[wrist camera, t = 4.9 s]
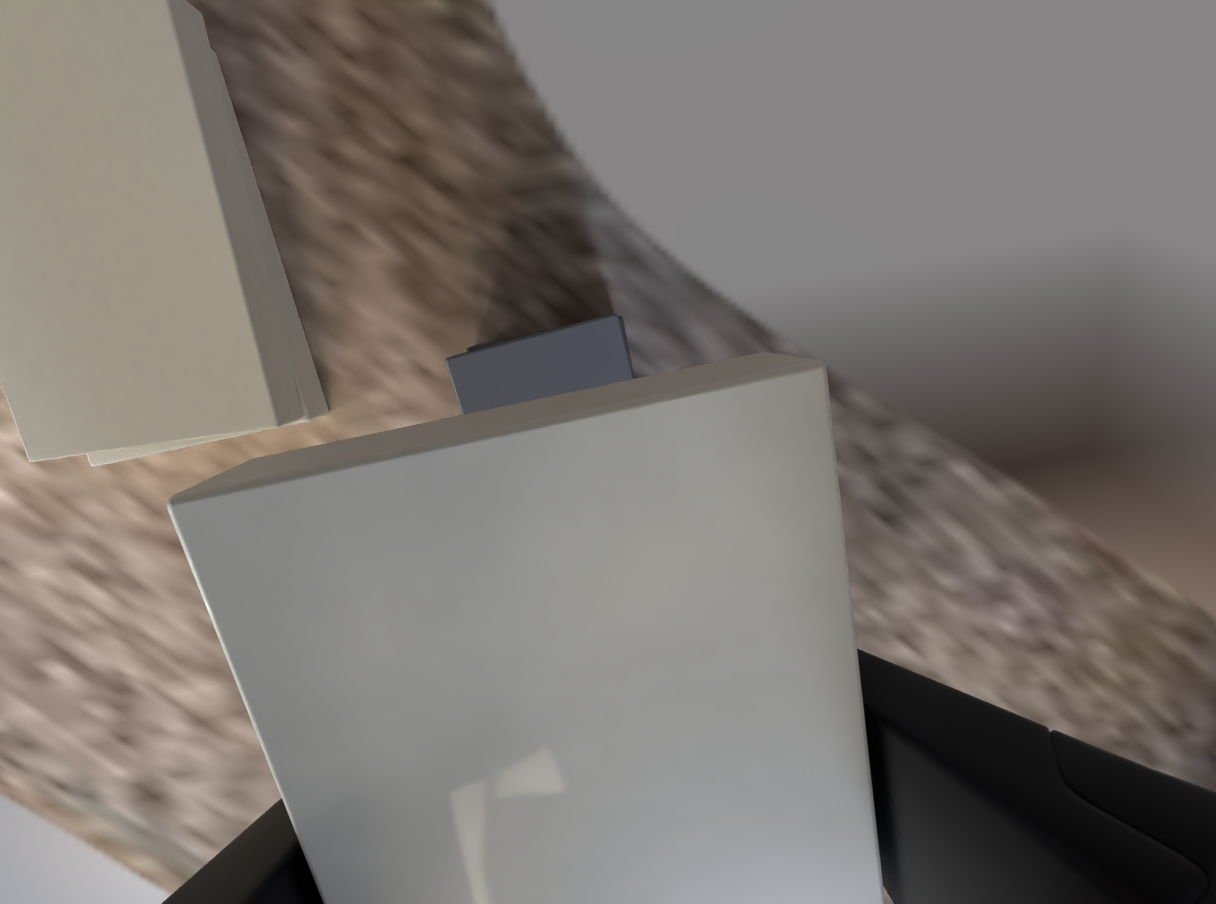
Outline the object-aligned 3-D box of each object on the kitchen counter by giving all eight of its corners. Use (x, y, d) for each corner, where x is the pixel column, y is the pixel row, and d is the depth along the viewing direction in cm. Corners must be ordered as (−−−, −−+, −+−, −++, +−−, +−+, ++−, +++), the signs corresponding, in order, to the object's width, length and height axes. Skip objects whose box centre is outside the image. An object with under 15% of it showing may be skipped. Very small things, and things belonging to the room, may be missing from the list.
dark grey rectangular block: (690, 659, 19) (718, 726, 16) (551, 692, 19) (551, 766, 16) (624, 310, 16) (641, 308, 13) (463, 344, 16) (441, 349, 13)
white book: (852, 982, 8) (911, 1112, 7) (468, 1080, 8) (451, 1235, 7) (768, 348, 6) (829, 357, 5) (248, 458, 6) (159, 500, 5)
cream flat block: (349, 409, 16) (308, 427, 14) (125, 456, 16) (37, 484, 13) (231, 25, 14) (153, -46, 11) (-30, 72, 14) (-173, 11, 11)
